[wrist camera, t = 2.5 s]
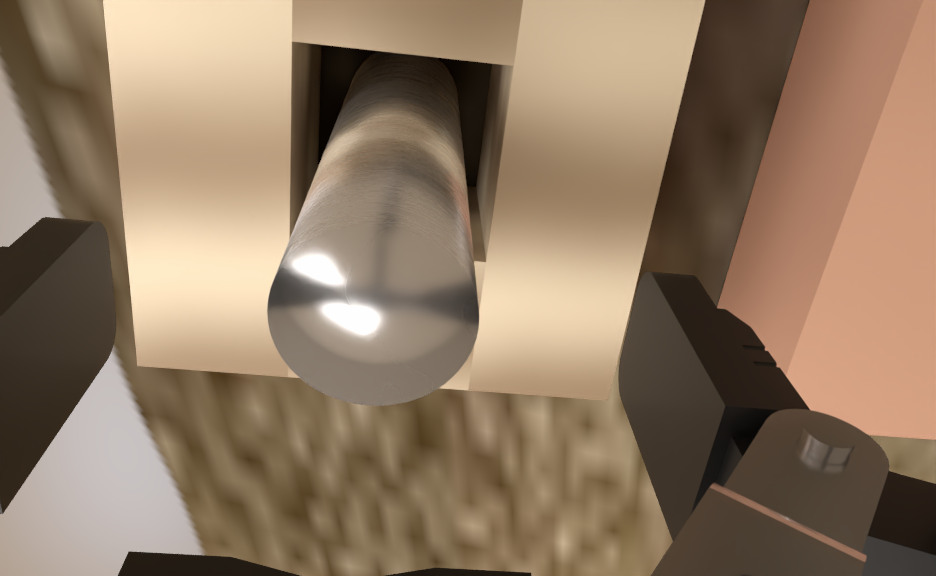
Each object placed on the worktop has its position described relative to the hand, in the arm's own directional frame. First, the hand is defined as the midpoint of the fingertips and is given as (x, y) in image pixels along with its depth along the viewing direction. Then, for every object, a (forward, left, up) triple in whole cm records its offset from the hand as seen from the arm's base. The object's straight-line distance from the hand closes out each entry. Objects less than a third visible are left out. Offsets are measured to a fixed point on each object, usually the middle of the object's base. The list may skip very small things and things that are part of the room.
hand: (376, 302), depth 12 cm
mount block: (0, 0, -11) cm, 11 cm away
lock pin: (0, 0, -11) cm, 11 cm away
